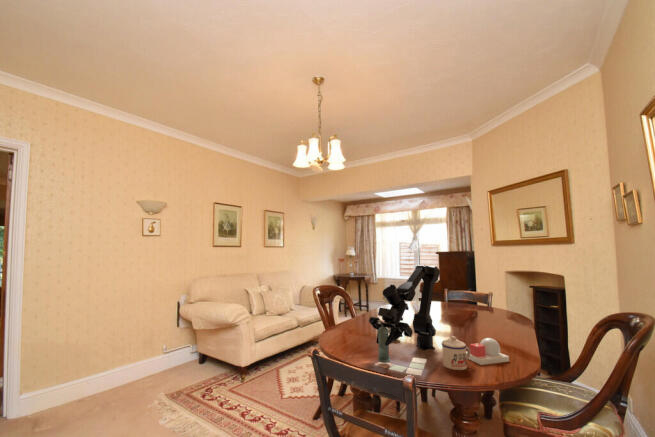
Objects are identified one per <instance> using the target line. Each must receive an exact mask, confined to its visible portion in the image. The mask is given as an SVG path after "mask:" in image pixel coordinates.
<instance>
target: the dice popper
mask: <svg viewBox="0 0 655 437" xmlns="http://www.w3.org/2000/svg"><path fill="white" fill-rule="evenodd" d="M469 349H470V357H469V358H468V359H467V360H470V361H472V362H474V363H476V364H478V365H480V366H483V365H492V364H499V363H501V364H502V363H507V362H510V357H509V356H510V355H506V354H504V353H501V345H500V343H499V342H498V341H497V340H495V339H494V338H492V337H485V338H483V339H482V340H481V341H480V343H478V342H477V343H476V342H475V343H470V344H469ZM466 355H467V350H466Z"/></svg>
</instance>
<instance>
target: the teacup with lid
mask: <svg viewBox="0 0 655 437" xmlns="http://www.w3.org/2000/svg"><path fill="white" fill-rule="evenodd" d="M441 348H442V349H441V350H442V365H443V367H445V368H447V369H449V370H454V371H456V370H457V371H464V370H468V369H467V368H468V367H467V366H468V363H467V360H469V359H468V358H469V357H470V347H468V346H467V345H466V343H465V342H463V341H460V340H459V339H457V337H456V336H454V335H452V336H451V335H450V338H447V339H446V340H442V342H441ZM466 351H467V355H466Z"/></svg>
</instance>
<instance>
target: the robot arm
mask: <svg viewBox="0 0 655 437" xmlns="http://www.w3.org/2000/svg"><path fill="white" fill-rule="evenodd" d="M440 274H441V270H440V269H439V268H438V266H436V265H434V266H433V265H426V264H417V265H415V268H414V270H413V271H412V273H411V274H410V276H409V277H408V279H406V280H407V281H405V282H404V283H402V284H400V285H398V287H396V285H395V284H390V285H389V286H387V287H386V288H384V289H383V290H382V295H383V297H384V299H385V300H386V302H387V303H388V304H389V305H390V306H391V307H390V308H385V307H379V308H378V312H377V316H380V317H381V319H382V320H381V319H380V318H379V317H377V316H373V315H372V316H370V317H369V320H368V323H369V324H370V325H371V326H372V328H373V329H375V330H377V332H376V344H378V345H379V341H378V330H379V328H380V327H386V328H391V330H390V334H389V333H388V338H387V340H386V343H385V345H386V346H388V345H389V346H390V345H391V344H392V343H393V342H395V341H396V339H397V340H399V338H403V337H408V338H411V337H412V336H413V333H414V334H417V337H416V345H415V346H416V347H417V348H419V349H421V350H423V351H426V350H435V349H436V347H435V346H434V337H435V336H436V334H437V333H436V332H437V330H436V328H435V326H434V325H433V319H432V316H431V314H430V313H431V307H432V300H433V294H434V293H433V292H434V285H435V284H436V283H437V281H438V280H439V277H440ZM421 281H423V283H422V291H421V298H420V304H419V310H418V312H417V313H414V314H413V319H412V327H411V326H410V325H409V323H407V322H404V321H403V320H404V317H403V315H404V314H405V311H409V308H410V307H409V306H408V303H407V302H412V301H413V300H414V297H416V289H417V287H418V286H419V283H420V282H421ZM412 328H413V329H412ZM403 335H404V336H403Z"/></svg>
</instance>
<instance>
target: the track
mask: <svg viewBox="0 0 655 437" xmlns="http://www.w3.org/2000/svg"><path fill="white" fill-rule="evenodd" d="M427 360H428V359H427V358H421V357H413V358H412V359H411V362H410V363H409V366H408V367H407V366H404V365H403V366H402V365H397V364H394V363H390V362H388V363H382V362H379V361H378V362H377V363H376V362H375V363H374V365H375V366H377V367H381V368H384V369H387V368H388V370H391V371H394V372H400V373H403V372H404V371H405V370H406V372H405V374H410V375H415V376H421V377H422V373H423V371H424V369H425V366H426V363H427Z"/></svg>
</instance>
